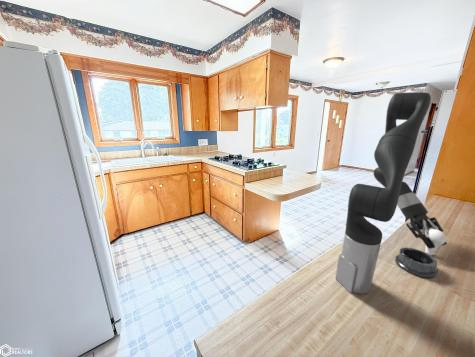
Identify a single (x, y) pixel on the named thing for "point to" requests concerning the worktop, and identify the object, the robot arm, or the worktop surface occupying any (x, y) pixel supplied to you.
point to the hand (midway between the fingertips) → (437, 246)
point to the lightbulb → (435, 240)
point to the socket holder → (417, 263)
